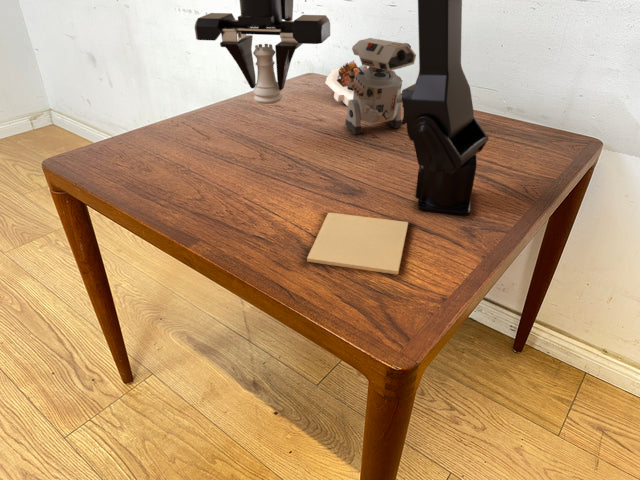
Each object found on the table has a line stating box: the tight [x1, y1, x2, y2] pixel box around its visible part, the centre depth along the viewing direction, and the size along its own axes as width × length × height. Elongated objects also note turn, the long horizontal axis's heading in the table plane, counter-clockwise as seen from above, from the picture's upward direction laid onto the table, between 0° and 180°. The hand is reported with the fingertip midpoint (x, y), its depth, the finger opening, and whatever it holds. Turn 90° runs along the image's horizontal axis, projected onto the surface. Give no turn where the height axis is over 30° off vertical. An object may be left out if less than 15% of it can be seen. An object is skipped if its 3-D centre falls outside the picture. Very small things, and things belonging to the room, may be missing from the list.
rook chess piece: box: [252, 43, 283, 105], centre depth 73 cm, size 4×4×8 cm
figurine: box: [344, 37, 417, 135], centre depth 80 cm, size 9×12×15 cm
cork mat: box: [306, 212, 409, 275], centre depth 56 cm, size 10×10×1 cm
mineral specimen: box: [324, 59, 369, 107], centre depth 99 cm, size 12×12×7 cm
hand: (267, 88), depth 74 cm, fingers closed on rook chess piece, 4 cm apart
